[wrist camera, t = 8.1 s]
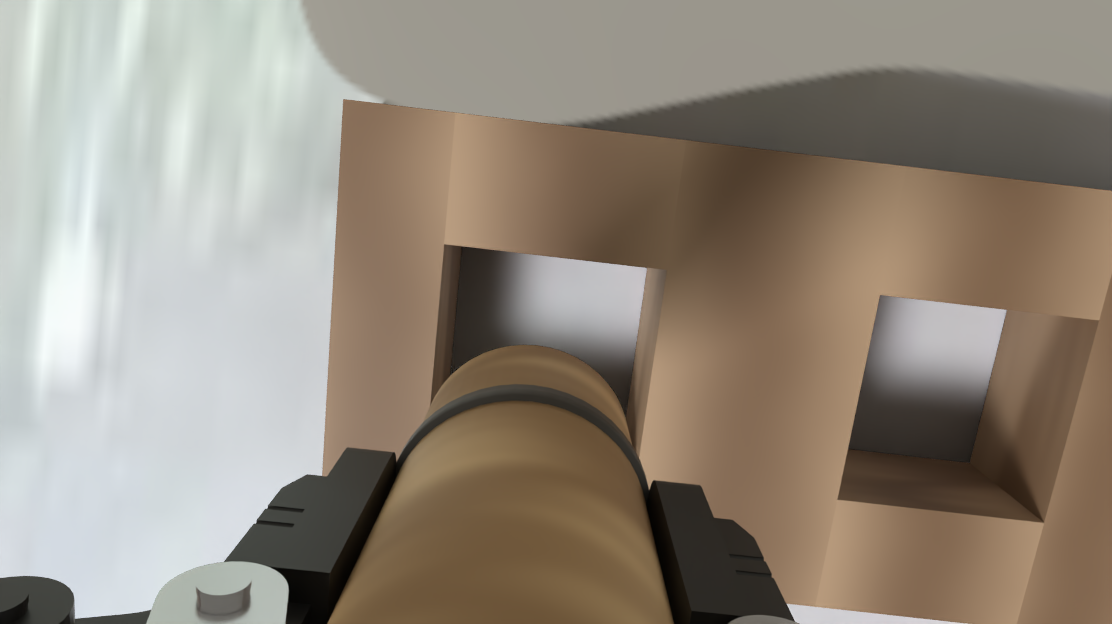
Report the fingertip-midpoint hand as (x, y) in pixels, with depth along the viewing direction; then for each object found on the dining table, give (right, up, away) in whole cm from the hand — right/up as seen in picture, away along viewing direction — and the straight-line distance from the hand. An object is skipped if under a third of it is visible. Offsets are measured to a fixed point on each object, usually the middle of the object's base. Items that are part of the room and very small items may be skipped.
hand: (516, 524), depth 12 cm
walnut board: (+6, +2, +12) cm, 14 cm away
